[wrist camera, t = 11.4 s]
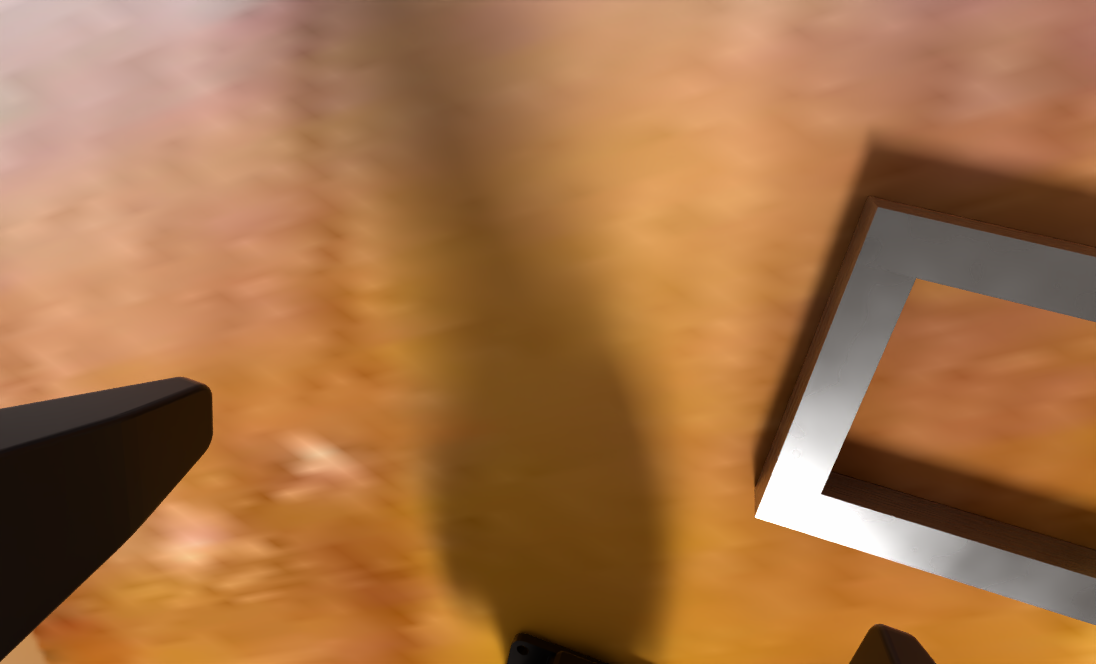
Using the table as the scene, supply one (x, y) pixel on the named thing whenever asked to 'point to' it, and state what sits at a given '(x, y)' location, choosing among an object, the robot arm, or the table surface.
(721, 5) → the table surface
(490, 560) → the table surface
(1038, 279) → the socket frame
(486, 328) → the table surface
